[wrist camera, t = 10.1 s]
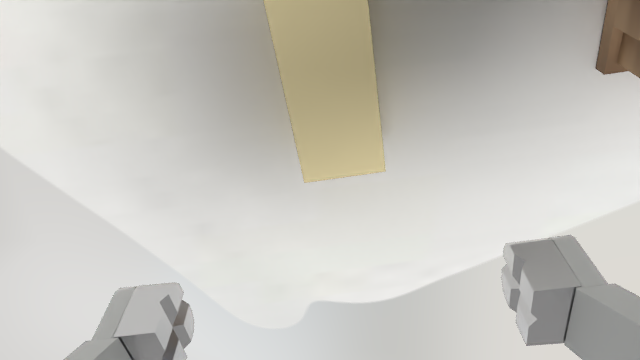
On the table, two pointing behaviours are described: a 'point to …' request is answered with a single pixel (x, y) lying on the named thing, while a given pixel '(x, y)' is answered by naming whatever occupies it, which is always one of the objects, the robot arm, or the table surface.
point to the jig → (620, 38)
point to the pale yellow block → (329, 85)
